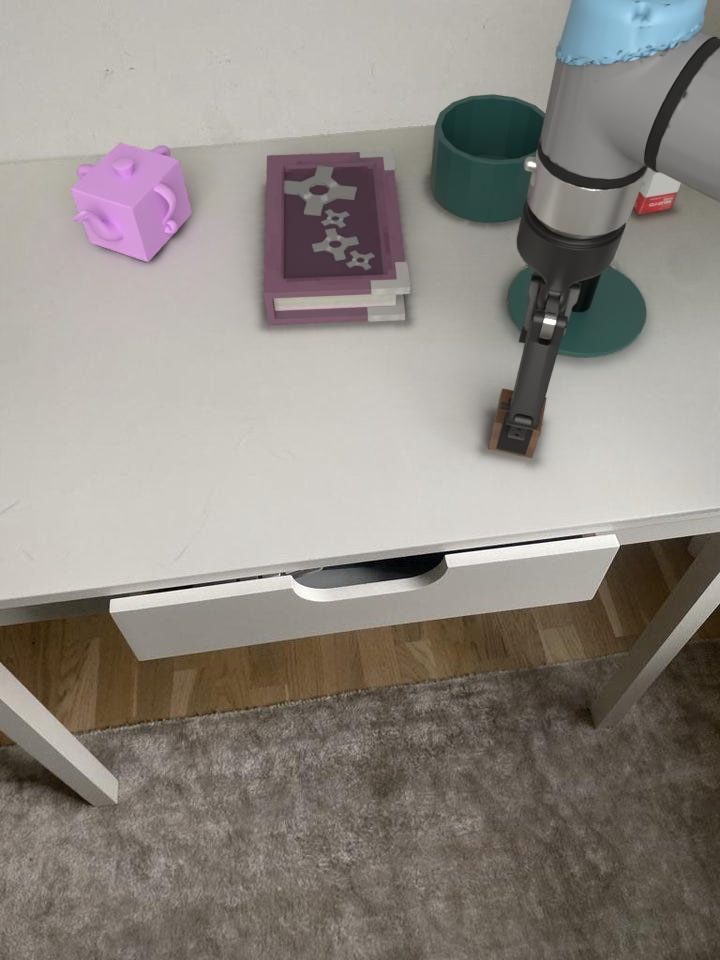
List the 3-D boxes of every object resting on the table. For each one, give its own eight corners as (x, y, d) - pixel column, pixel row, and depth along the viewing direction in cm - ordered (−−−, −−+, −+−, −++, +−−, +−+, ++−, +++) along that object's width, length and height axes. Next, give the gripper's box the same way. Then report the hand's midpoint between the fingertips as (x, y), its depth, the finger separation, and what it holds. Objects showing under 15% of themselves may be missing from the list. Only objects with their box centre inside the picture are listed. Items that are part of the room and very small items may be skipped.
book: (408, 320, 88) (410, 287, 84) (268, 326, 88) (263, 293, 84) (391, 183, 102) (392, 149, 98) (271, 187, 102) (266, 154, 97)
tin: (547, 163, 104) (561, 103, 97) (532, 231, 97) (545, 171, 89) (443, 147, 106) (448, 87, 99) (420, 212, 99) (424, 152, 92)
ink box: (672, 209, 99) (707, 124, 89) (637, 216, 98) (668, 130, 88) (643, 170, 103) (673, 85, 93) (609, 176, 103) (636, 90, 93)
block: (538, 424, 80) (546, 397, 76) (532, 458, 77) (540, 432, 74) (495, 415, 80) (502, 388, 77) (488, 449, 78) (494, 422, 74)
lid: (647, 277, 92) (676, 205, 83) (638, 373, 84) (669, 304, 75) (517, 254, 94) (532, 182, 86) (495, 345, 86) (510, 276, 77)
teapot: (142, 297, 90) (119, 227, 82) (47, 264, 94) (16, 193, 85) (220, 209, 99) (206, 137, 91) (131, 181, 102) (110, 109, 94)
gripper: (547, 104, 62) (504, 296, 80) (496, 318, 49) (459, 490, 67) (640, 119, 61) (576, 310, 79) (613, 341, 48) (543, 509, 66)
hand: (522, 393), depth 73 cm, fingers open, 13 cm apart
